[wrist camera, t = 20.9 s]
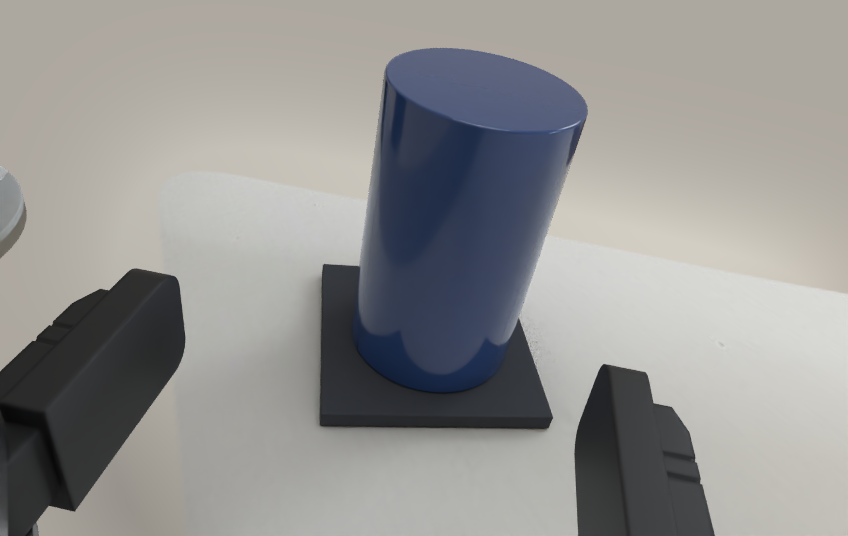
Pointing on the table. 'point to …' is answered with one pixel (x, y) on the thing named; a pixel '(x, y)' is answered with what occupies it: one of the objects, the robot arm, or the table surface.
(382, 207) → the canister
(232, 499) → the table surface
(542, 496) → the table surface
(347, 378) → the mat
